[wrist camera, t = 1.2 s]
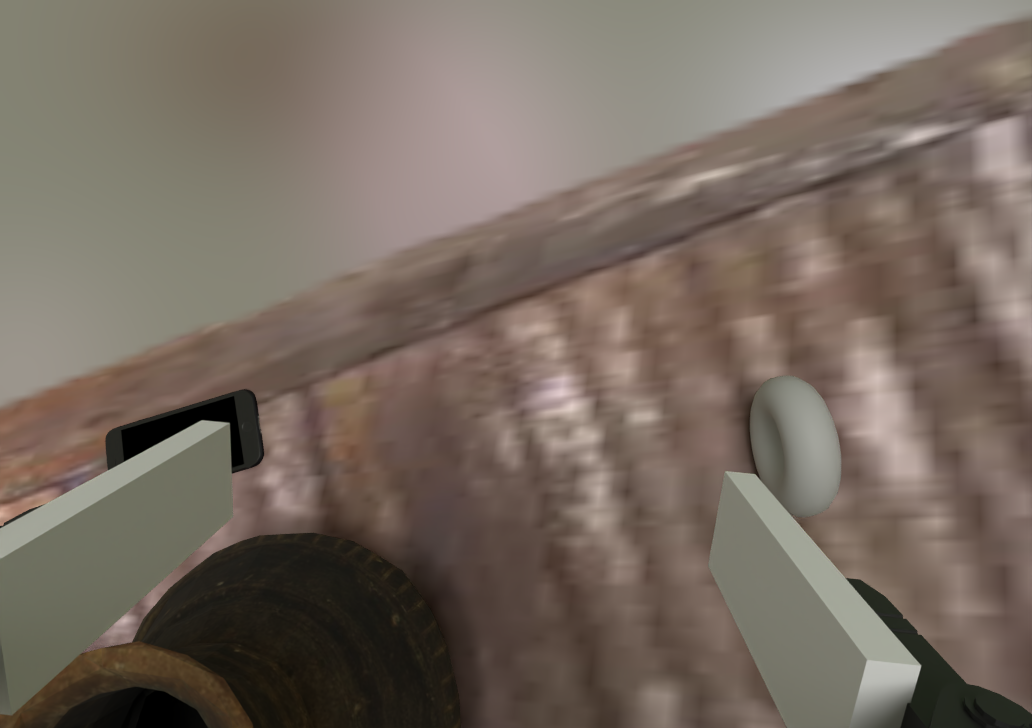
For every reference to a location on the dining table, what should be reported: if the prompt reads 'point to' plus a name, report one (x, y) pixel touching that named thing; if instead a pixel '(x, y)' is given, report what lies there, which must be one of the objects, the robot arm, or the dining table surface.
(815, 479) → the donut
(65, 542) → the robot arm
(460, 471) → the dining table surface
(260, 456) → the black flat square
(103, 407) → the dining table surface
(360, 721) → the ceramic pot
